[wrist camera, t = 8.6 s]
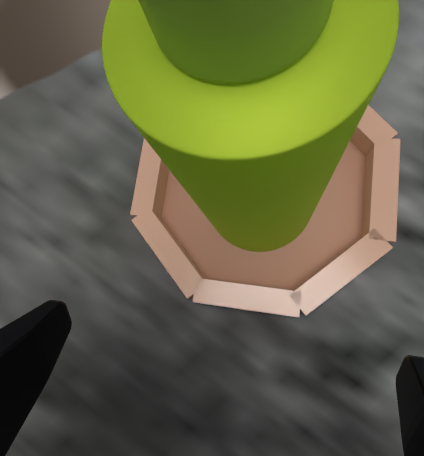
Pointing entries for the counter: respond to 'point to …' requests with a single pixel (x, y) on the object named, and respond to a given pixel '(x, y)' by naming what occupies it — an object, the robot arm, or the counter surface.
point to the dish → (289, 254)
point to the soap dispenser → (249, 99)
